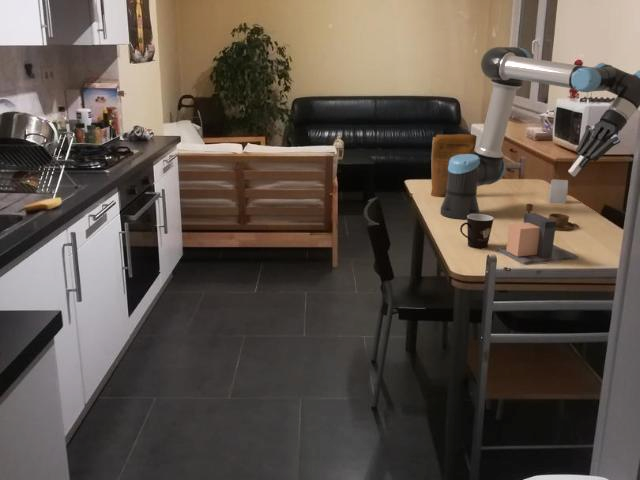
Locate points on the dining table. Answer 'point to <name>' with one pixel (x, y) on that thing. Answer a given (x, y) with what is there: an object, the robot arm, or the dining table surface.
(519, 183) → the dining table surface
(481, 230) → the coffee mug
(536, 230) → the peach box
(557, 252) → the base board
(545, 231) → the dark grey archway
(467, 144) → the pancake mix bag
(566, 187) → the tea bag
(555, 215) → the place setting
